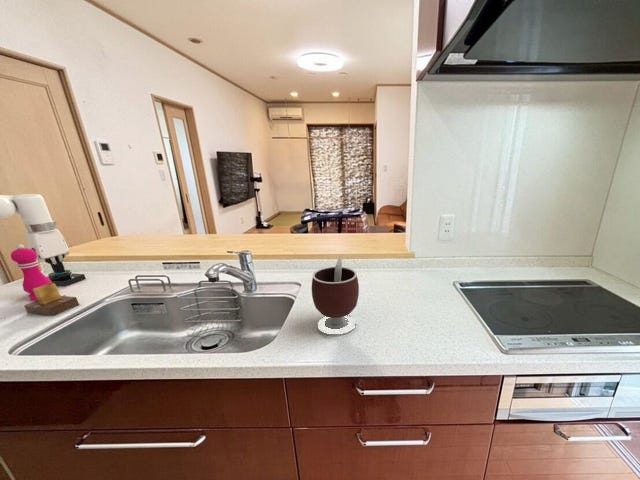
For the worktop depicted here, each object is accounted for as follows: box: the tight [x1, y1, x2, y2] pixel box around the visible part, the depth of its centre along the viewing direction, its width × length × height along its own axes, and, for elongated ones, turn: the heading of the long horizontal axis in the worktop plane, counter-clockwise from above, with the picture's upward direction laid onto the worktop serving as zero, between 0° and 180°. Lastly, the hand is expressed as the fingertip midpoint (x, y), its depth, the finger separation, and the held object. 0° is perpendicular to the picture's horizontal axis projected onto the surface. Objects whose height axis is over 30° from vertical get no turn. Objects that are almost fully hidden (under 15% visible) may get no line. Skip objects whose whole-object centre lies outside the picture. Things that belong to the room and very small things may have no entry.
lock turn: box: [33, 283, 62, 305], centre depth 97 cm, size 5×2×6 cm, turn 172°
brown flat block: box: [23, 294, 80, 317], centre depth 99 cm, size 10×9×3 cm
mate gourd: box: [311, 255, 360, 337], centre depth 89 cm, size 16×14×20 cm
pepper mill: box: [10, 243, 52, 302], centre depth 104 cm, size 7×7×20 cm
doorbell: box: [46, 269, 87, 288], centre depth 120 cm, size 12×8×4 cm, turn 82°
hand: (60, 272), depth 119 cm, fingers closed
